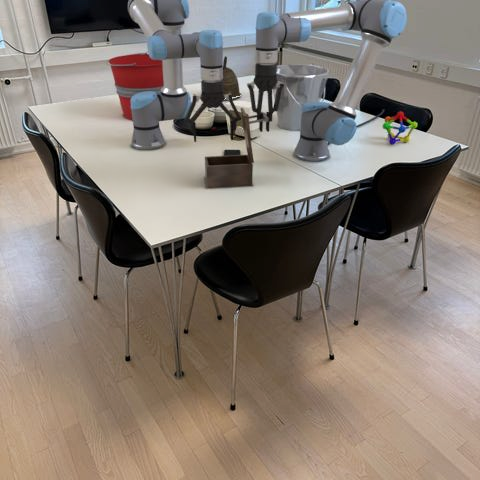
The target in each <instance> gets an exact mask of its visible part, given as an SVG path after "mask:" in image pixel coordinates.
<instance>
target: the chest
mask: <svg viewBox="0 0 480 480" xmlns="http://www.w3.org/2000/svg"><path fill="white" fill-rule="evenodd" d="M253 166H254V164H253V163H251V161H250V158H249V156H248V154H240V155H230V156H224V155H213V156H204V173H205V177H204V178H205V182H206V187H207V188H206V189H219V188H235V187H237V188H238V187H252V186H253V176H254V175H253V173H254V172H253V171H254V170H253V168H254V167H253Z"/></svg>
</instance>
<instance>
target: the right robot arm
mask: <svg viewBox="0 0 480 480" xmlns="http://www.w3.org/2000/svg"><path fill="white" fill-rule="evenodd" d="M407 19H408V15H407V10H406V8H405V6H404V5H403V3H401V2H399V1H396V0H354V1H349V2H344V3H342V4H340V6H334V7H325V8H318V9H317V8H316V9H309V10H300V11H293V12H285V13H278V12H275V11H261V12H259V13H257V15H256V20H255V59H254V61H255V66H254V78H253V81H251V82H250V83H249V82H248V83H246V87H247V88H248V90H249V98H250V105H251V110H252V112H253V113H255V114H256V115H257V117H256V120H259V119H263V113H262V112H263V111H262V108H263V99H264V94H265V92H266V93H267V110H268V111H266V112H265V114H266V115H267V117H268V118H269V121H268V122H265V131H266V132H268V133H269V132H270V123H272V122H273V115H274V113H275V112H276V111H278V107H279V102H280V96H281V91H282V89H283V87H284V84H283V83H282V82H279V81H278V79H277V66H278V63H277V62H278V52H279V44H288V43H289V44H290V43H292V44H293V43H302V42H306V41H308V40H309V38H310V37H311V34H312V33H317V32H326V31H332V30H338V29H340V30H342V31H356V32H360V37H361V41H360V43H359V46H358V48H357V50H356V53H355V55H354V57H353V59H352V61H351V64H350V66H349V68H348V71H347V73H346V74H345V78H344V80H343V82H342V84H341V86H340V89H339V91H338V93H337V95H336V98H335V100H334V101H333V102H331V103H330V102H326V101H323V102H322V101H320V102H311V103H306V104H304V105H303V107H302V112H301V114H302V116H301V129H300V130H299V139H298V141H297V143H296V147H295V149H294V157H295V158H296V159H298V160H300V161H305V162H312V163H313V162H315V163H316V162H317V163H318V162H323V161H326V160H328V159H329V158H330V149H329V145H330V144H331V145H334V146H343V145H345V144H348V143H349V142H350V141H351V140H352V139H353V138H354V136H355V134H356V132H357V128H359V127H361V126H364V125H366V124H368V123H370V122H372V121H375V120H376V119H377V118H379V117H380V116H382V115H383V114H384V112H386V111H385V109H383V108H382V110H381V112H380V113H379V114H377V115H375V116H374V117H372V118H370V119H368V120H366V121H364V122H362V123H359V124H357V123H356V118H357V112H356V109H357V106H358V105H359V102H360V100H361V99H362V95H363V94H364V91H365V89H366V87H367V85H368V82H369V80H370V78H371V76H372V74H373V72H374V70H375V67H376V65H377V63H378V61H379V59H380V57H381V55H382V52H383V50H384V49H385V48H386V47H389V46H390V45H391V43H392V40H393V39H395V38H397V37H399V36H400V35H401V34H402V33H403V32H404V30H405V27H406V25H407ZM276 84H277V91H276V96H275V100H274V102H273V88H274V87H275V85H276ZM255 86H256V88H257V89H258V95H257V104H256V97H255V90H254V89H255ZM258 123H259V125H258V127H259V128H258V130H259V132H260V133H263V130H264V121H262V122H258Z"/></svg>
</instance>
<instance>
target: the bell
mask: <svg viewBox="0 0 480 480" xmlns="http://www.w3.org/2000/svg"><path fill="white" fill-rule="evenodd" d="M227 63H228V57H227V56H223V79H222V81H223V94H224V95H226V94H229V93H231V95H232V97H236V96H240V95H241V96H242V93H241V92H240V83H239V80H238V79H239V78H238V77H237V75H236V73H235V72H234V70H232V69H231V68H230V67H227Z"/></svg>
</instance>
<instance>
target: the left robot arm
mask: <svg viewBox="0 0 480 480" xmlns="http://www.w3.org/2000/svg"><path fill="white" fill-rule="evenodd" d="M127 12H128V15H129V16H130V18H131V20H132V21H133V22H135V23H136V24H138V26H139V27H140V30H141V31H142V32H143V34H144V36H145V37H146V48H147V54H149V56H150V58H151V59H153V60H162V66H163V83H164V86H163V87H162V88H161V94H159V95H157V94H156V92H154V91H145V92H140V93H137V94H135V95H133V96H132V98H131V110H132V118H133V120H132V125H133V132H132V135H131V142H130V143H131V147H132V148H134V149H135V150H141V151H151V150H153V151H154V150H157V149H161V148H163V147H164V146H165V144H166V140H165V137H164V135H163V132H162V130H161V127H160V122H166V121H173V120H174V121H175V120H182V119H184V122H185V123H187V124H189V131H190V133H191V134H192V133H193V142H194V143H197V126H196V125H197V124H196V121H197V119H198V118H199V117H200V115H201V114H203V112H204V110H206V108H208V109H212V108H213V109H218V108H220V109H222V111H223V112H224V113H225V114H226V115H227V116H228V118H229V119H230V123H229V125H230V126H229V127H230V133H229V134H230V136H229V137H230V141H234V132H236V131H237V123H238V121H239V122H240V121H242V116H241V114H240V112H239V111H238V108H237V107H236V105H235V102H234V99H232V95H231V93H229V94H226V95H224V94H223V81H222V79H223V62H224V56H223V55H224V54H223V49H224V47H223V46H224V41H223V33H222V31H220V30H217V29H203V30H200V31H194V32H192V33H183V34H182V28H184V26H185V23H186V22H185V20H187V19H189V18H190V17H189V16H190V3H189V0H128V2H127ZM193 58H200V59H199V62H200V63H199V64H200V79H201V82H200V83H201V84H200V86H201V87H200V88H201V94H200V95H199V94H198V95H197V94H195V93H193V94H192V96H191V94H190V92H188V91H187V88H186V87H185V86H184V77H183V75H184V73H183V72H184V71H183V59H193ZM225 98H226V99H227V100H226V101H228V102H229V104H230V106H231V108H232V111H233V113H234V114H235V116H234V115H233V114H232V112H231V111H230V110H229V108H228V107H227V106H226V105H225V104H224V103H223V102H224V101H225V100H224V99H225ZM199 100H201V104H200V106H199V107H198V109H197V110H196V111H195V113H194V114H193V112H194V109H195V107H196V105H197V103H198V102H199ZM192 114H193V115H192Z"/></svg>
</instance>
